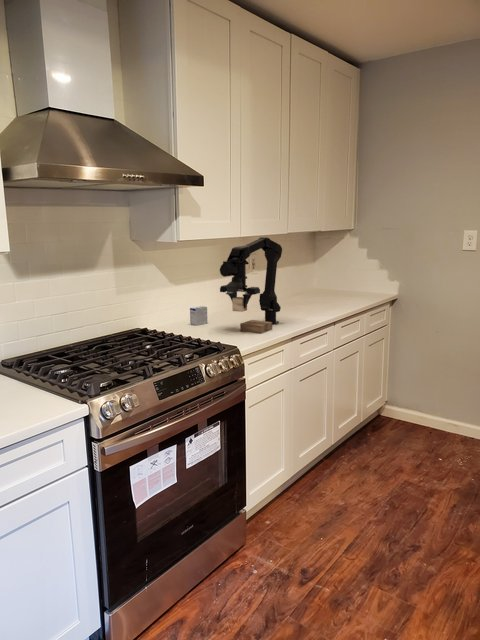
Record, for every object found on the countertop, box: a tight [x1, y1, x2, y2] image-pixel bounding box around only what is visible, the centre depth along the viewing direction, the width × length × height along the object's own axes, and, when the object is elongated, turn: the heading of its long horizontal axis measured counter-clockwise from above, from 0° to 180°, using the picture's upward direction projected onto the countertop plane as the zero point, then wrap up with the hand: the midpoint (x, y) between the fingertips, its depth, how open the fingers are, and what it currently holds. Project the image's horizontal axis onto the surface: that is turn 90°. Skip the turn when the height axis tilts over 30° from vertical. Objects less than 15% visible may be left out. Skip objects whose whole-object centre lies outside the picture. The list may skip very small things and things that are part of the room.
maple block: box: [231, 296, 248, 313], centre depth 239 cm, size 5×5×6 cm
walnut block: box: [239, 319, 273, 335], centre depth 241 cm, size 11×11×4 cm
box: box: [189, 305, 209, 327], centre depth 255 cm, size 8×4×9 cm, turn 136°
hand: (239, 307), depth 239 cm, fingers closed on maple block, 5 cm apart
